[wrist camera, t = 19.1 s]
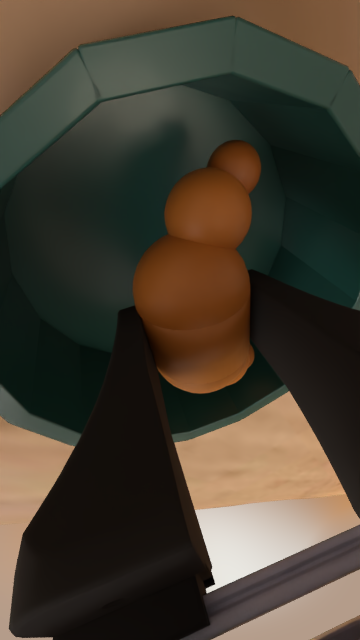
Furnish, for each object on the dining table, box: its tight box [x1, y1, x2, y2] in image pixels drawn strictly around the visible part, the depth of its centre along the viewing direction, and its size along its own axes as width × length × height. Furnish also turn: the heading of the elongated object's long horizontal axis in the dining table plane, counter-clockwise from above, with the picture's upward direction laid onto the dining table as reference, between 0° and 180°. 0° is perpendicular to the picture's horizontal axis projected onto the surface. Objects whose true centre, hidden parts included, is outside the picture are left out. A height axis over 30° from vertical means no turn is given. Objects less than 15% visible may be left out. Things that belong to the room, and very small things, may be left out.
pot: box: [0, 16, 360, 446], centre depth 12 cm, size 15×15×6 cm
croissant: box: [133, 140, 261, 394], centre depth 10 cm, size 10×5×4 cm, turn 9°
